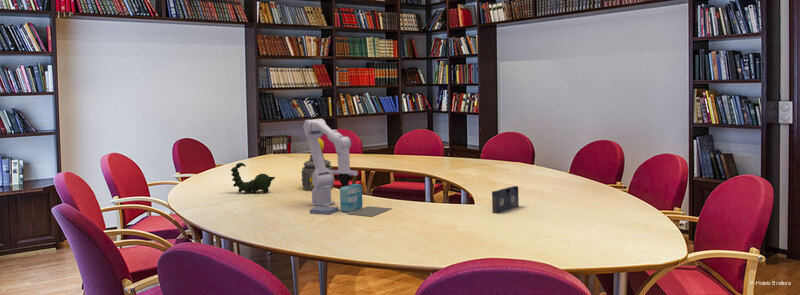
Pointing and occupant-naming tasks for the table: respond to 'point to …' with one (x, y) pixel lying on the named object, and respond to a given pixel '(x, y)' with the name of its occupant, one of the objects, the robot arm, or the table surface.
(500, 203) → the vhs cassette tape
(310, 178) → the decorative lamp
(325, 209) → the book
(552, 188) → the table surface
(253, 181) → the toy figurine
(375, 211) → the mat
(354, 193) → the teal flat block
